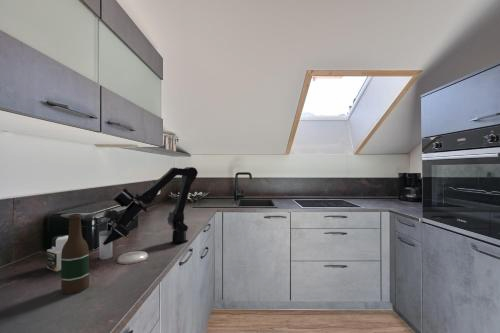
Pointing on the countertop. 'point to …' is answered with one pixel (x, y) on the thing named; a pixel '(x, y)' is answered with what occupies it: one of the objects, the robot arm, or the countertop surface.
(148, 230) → the countertop surface
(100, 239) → the grey-topped white cylinder
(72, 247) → the beer bottle
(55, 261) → the medicine bottle
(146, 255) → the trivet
